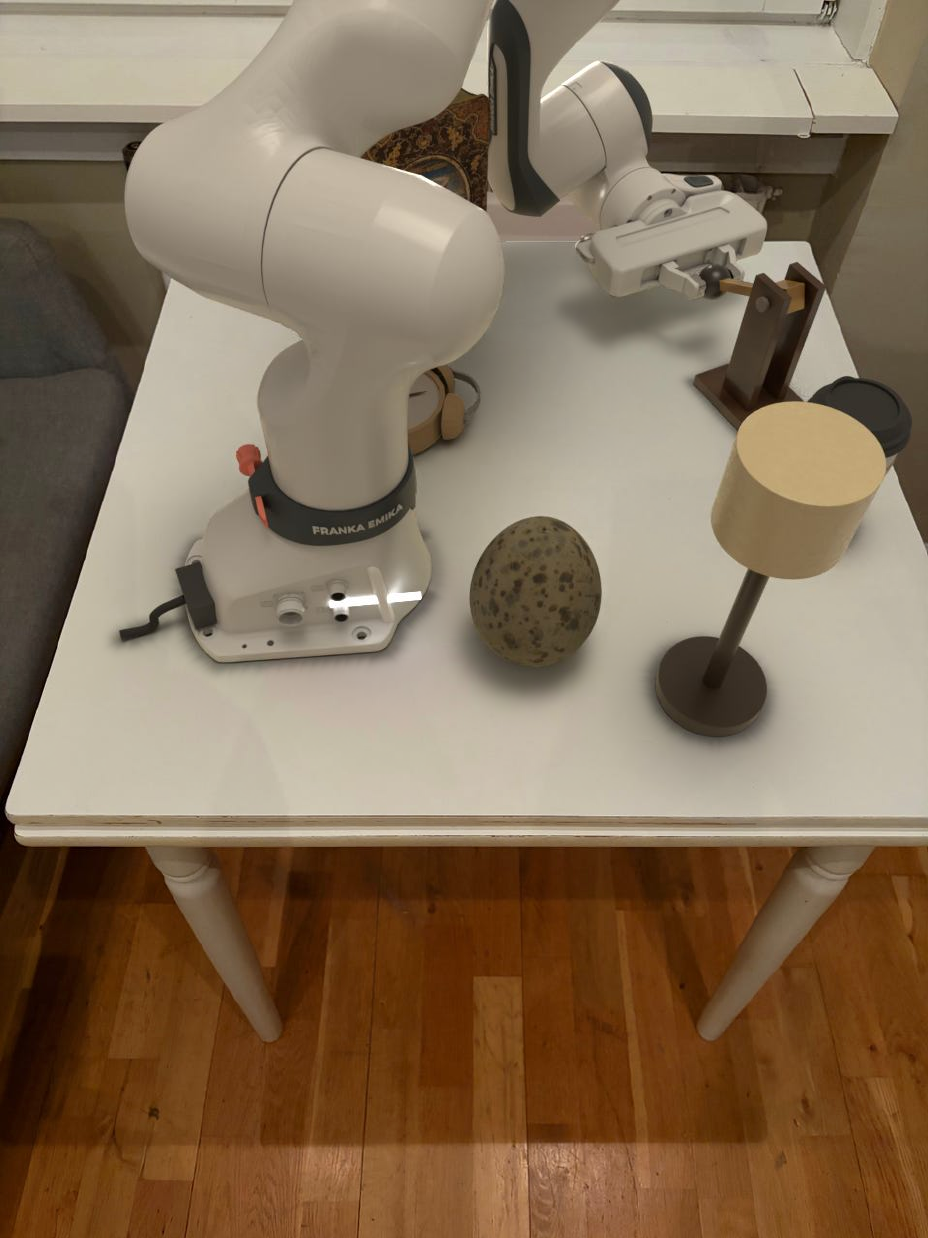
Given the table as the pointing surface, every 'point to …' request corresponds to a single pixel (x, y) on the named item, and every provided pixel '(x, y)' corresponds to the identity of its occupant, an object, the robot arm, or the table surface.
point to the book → (444, 148)
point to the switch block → (764, 349)
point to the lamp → (771, 546)
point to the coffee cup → (870, 411)
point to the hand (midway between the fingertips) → (719, 286)
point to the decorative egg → (536, 592)
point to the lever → (745, 286)
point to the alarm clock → (437, 407)
